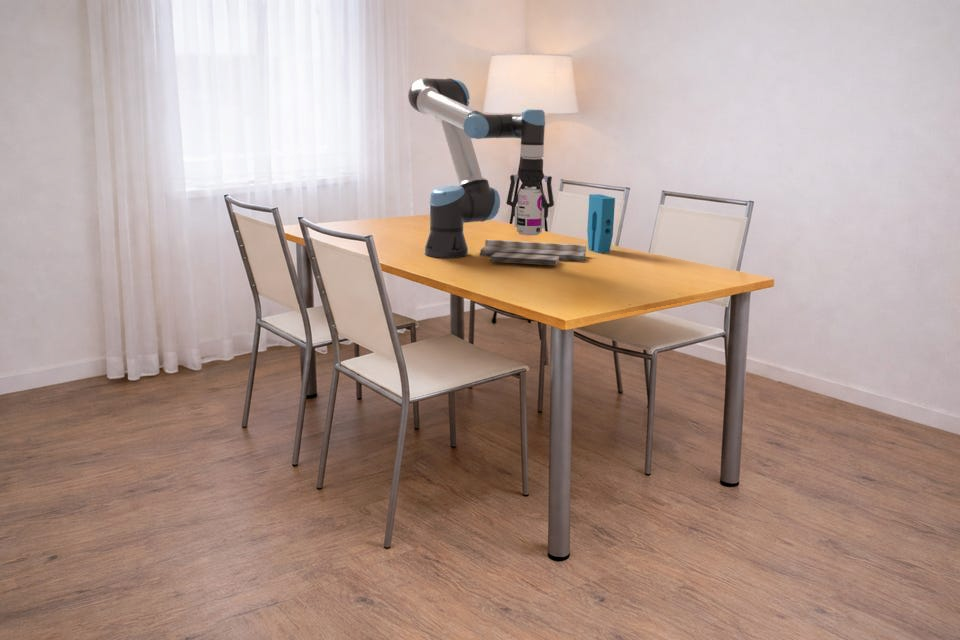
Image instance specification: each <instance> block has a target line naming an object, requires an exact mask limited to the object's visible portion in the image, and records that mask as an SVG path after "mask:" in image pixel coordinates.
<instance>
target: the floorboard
mask: <svg viewBox="0 0 960 640" xmlns="http://www.w3.org/2000/svg"><path fill="white" fill-rule="evenodd" d="M484 241H485V242H484V243H485V244H484V246H483V247H482V248H481V249H480V253H479V256H480V257H489V258H490V256H491V255H493V254H494V253H513V254H530V255H547V256H559V262H572V263H573V262H576V263H584V262H585V258H586V256H587V253H586V251H587V245H585V244H572V243H571V244H570V243H553V242H535V241H518V240H516V241H515V240H501V239H485V240H484Z"/></svg>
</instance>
